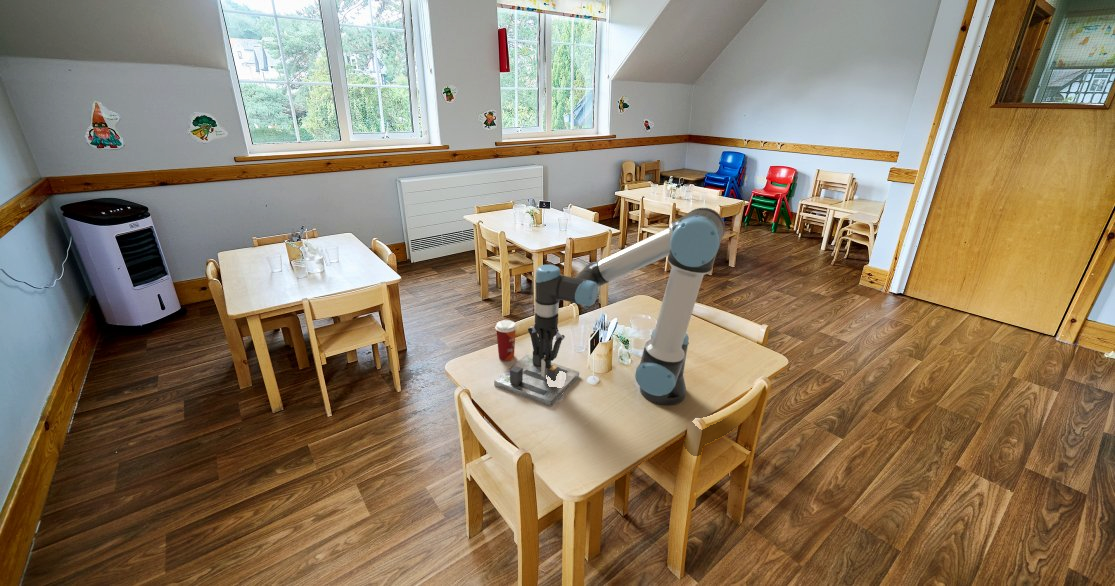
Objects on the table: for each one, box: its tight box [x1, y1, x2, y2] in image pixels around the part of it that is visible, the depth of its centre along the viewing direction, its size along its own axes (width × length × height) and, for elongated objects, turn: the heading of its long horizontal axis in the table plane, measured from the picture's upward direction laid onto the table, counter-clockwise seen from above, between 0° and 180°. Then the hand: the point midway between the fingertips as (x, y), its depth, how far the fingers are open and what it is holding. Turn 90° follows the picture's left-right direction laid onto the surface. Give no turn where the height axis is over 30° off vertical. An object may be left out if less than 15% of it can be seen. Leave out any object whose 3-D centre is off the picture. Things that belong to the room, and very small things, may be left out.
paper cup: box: [494, 319, 517, 362], centre depth 173 cm, size 8×8×14 cm
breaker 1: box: [510, 366, 523, 385], centre depth 157 cm, size 3×3×5 cm
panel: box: [493, 353, 580, 408], centre depth 162 cm, size 22×20×2 cm
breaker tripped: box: [547, 365, 560, 381], centre depth 158 cm, size 3×3×5 cm
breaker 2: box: [532, 350, 540, 366], centre depth 168 cm, size 3×3×5 cm
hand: (544, 374), depth 160 cm, fingers closed
